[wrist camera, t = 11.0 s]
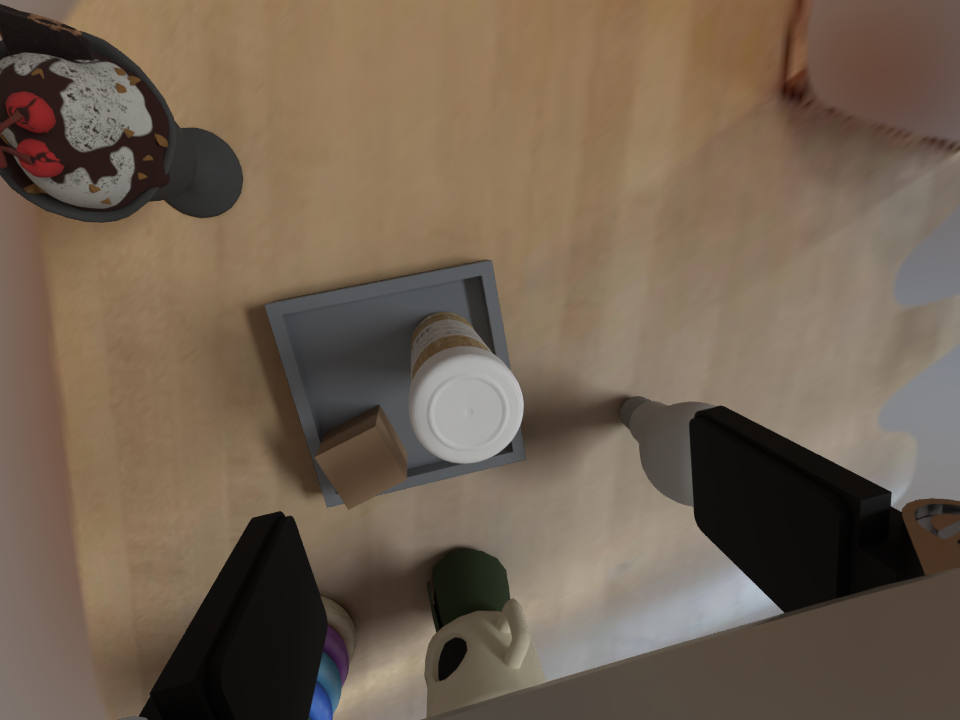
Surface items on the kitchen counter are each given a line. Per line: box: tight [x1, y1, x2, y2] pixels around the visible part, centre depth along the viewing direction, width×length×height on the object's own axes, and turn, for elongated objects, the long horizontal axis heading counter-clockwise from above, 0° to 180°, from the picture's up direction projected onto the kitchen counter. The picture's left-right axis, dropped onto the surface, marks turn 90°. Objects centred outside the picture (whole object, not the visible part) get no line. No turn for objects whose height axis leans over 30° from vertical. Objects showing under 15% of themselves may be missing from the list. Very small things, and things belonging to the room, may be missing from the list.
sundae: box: [0, 4, 243, 223], centre depth 19 cm, size 7×7×15 cm
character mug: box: [424, 549, 546, 718], centre depth 29 cm, size 11×7×13 cm, turn 159°
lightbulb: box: [620, 396, 716, 507], centre depth 29 cm, size 6×6×11 cm
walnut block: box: [314, 405, 407, 510], centre depth 29 cm, size 4×4×4 cm
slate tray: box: [265, 260, 526, 508], centre depth 30 cm, size 14×14×2 cm
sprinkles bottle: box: [409, 312, 524, 464], centre depth 24 cm, size 5×5×14 cm
